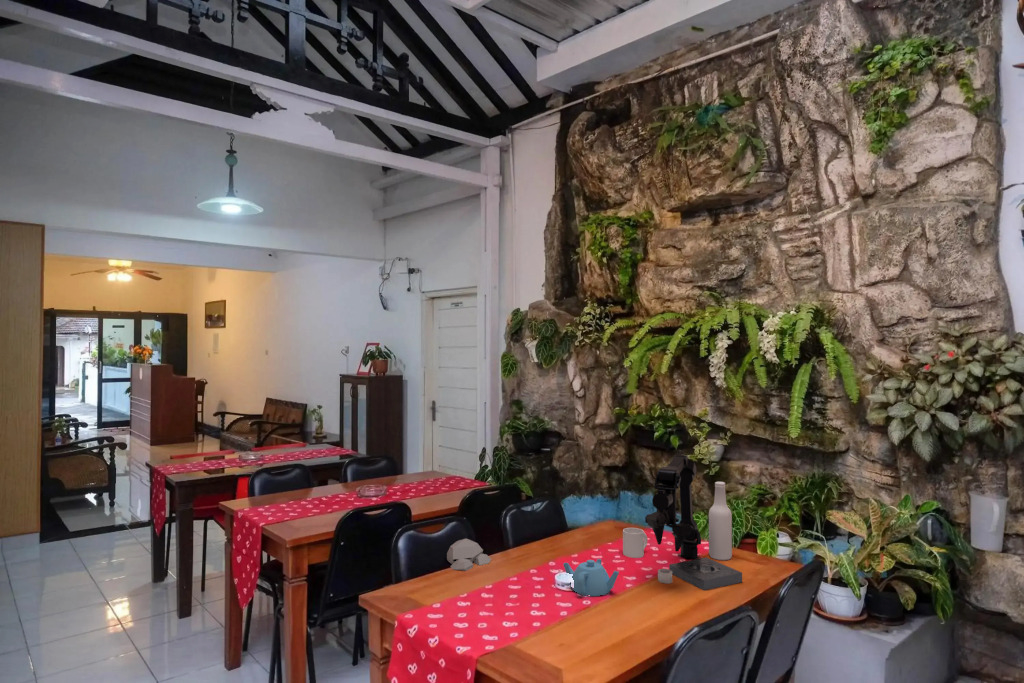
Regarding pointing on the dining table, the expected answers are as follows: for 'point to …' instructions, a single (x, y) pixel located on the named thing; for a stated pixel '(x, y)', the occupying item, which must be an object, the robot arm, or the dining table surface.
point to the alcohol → (720, 526)
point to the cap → (665, 576)
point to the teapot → (591, 578)
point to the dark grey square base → (706, 573)
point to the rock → (466, 555)
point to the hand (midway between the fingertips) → (668, 547)
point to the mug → (634, 542)
